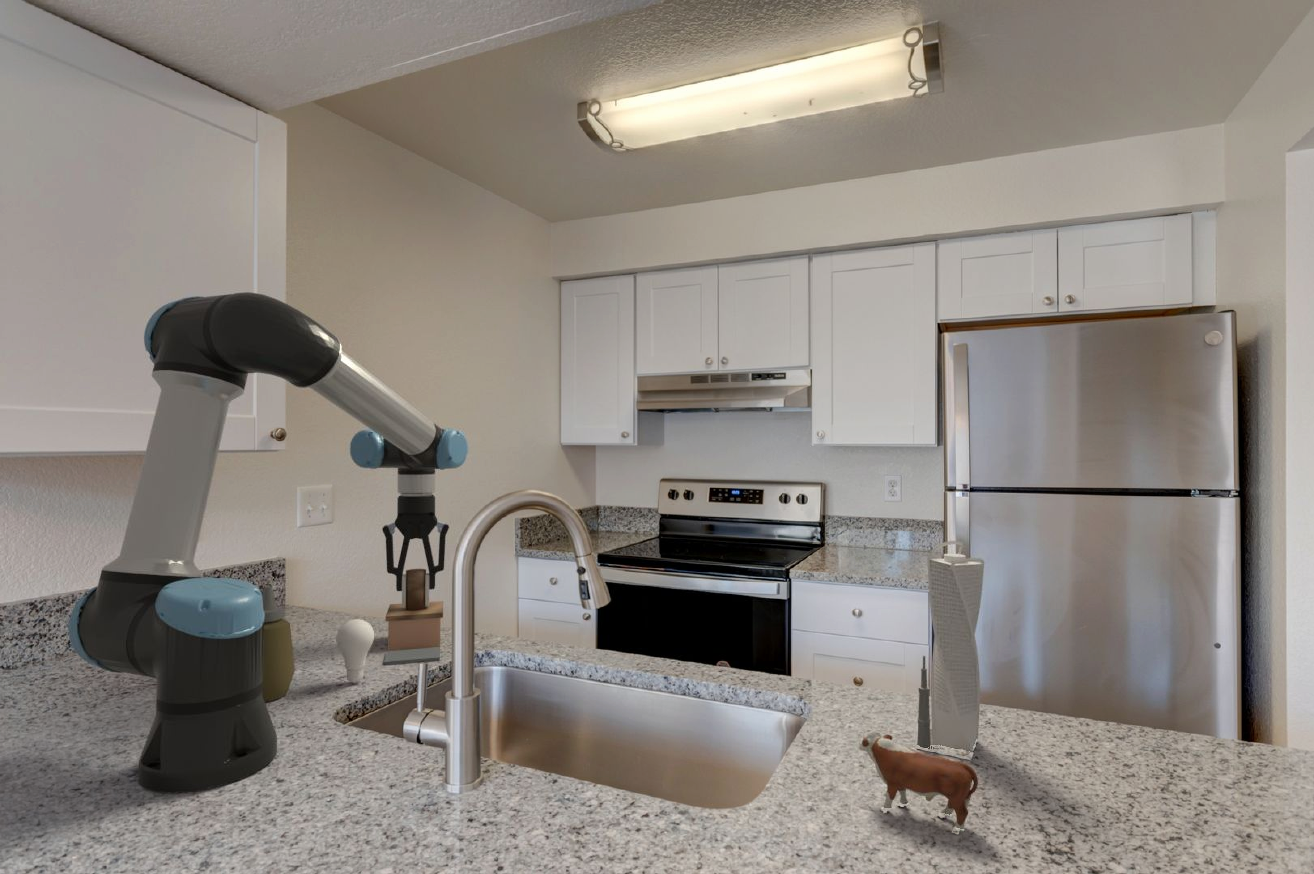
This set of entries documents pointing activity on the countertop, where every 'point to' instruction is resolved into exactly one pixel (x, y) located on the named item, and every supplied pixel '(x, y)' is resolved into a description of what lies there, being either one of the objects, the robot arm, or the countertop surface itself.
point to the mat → (412, 656)
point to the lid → (415, 600)
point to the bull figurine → (920, 774)
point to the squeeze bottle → (276, 649)
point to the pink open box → (414, 634)
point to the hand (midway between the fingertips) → (415, 605)
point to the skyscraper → (952, 653)
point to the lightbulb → (355, 646)
